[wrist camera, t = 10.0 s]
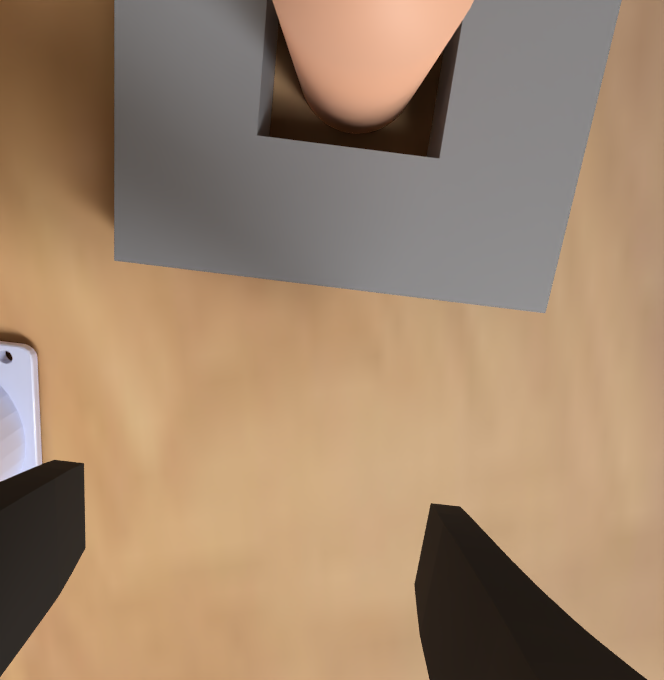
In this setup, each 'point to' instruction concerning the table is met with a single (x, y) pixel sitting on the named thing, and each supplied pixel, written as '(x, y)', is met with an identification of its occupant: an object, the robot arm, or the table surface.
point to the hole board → (355, 155)
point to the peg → (365, 54)
